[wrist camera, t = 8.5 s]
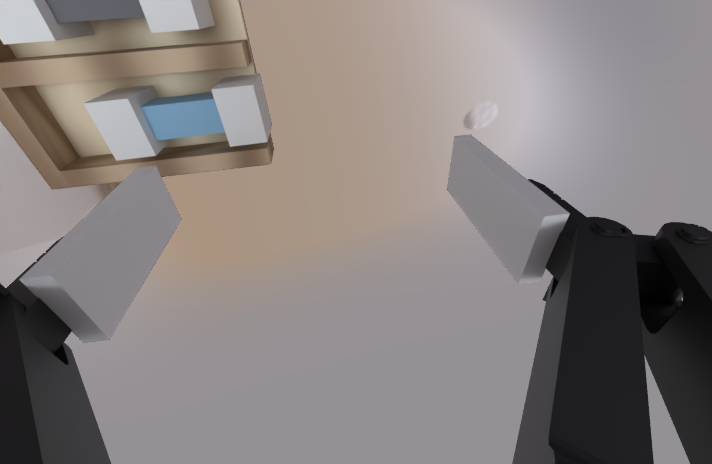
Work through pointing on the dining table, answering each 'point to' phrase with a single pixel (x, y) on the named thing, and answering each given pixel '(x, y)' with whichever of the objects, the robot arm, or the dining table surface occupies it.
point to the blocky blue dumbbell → (180, 116)
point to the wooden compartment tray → (121, 70)
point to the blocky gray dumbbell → (94, 17)
